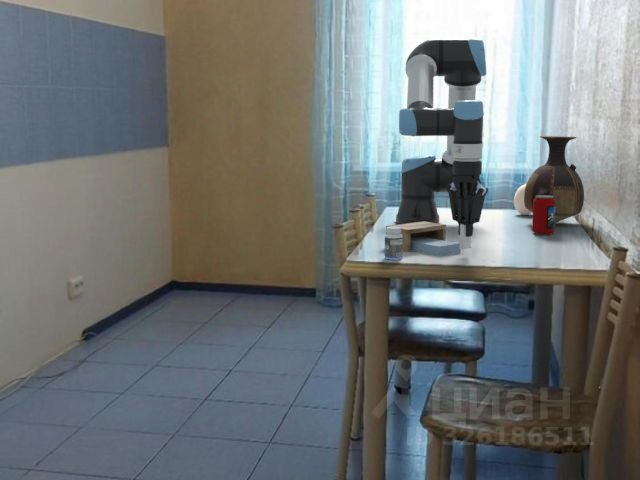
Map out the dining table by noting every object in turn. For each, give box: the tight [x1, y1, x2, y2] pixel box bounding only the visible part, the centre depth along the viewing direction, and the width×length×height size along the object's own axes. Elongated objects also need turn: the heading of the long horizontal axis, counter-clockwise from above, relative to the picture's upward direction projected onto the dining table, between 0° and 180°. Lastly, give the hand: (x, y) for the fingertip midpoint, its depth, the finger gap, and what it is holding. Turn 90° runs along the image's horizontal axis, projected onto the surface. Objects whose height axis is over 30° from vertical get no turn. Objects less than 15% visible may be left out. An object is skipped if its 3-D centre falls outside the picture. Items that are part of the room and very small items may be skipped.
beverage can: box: [531, 195, 556, 236], centre depth 239 cm, size 7×7×12 cm
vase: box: [524, 135, 585, 224], centre depth 256 cm, size 23×19×30 cm
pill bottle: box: [384, 225, 403, 261], centre depth 201 cm, size 5×5×8 cm
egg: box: [513, 183, 533, 216], centre depth 282 cm, size 9×9×12 cm
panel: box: [410, 237, 461, 257], centre depth 213 cm, size 15×8×3 cm, turn 37°
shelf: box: [385, 221, 447, 253], centre depth 218 cm, size 9×15×6 cm, turn 127°
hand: (465, 247), depth 204 cm, fingers closed
